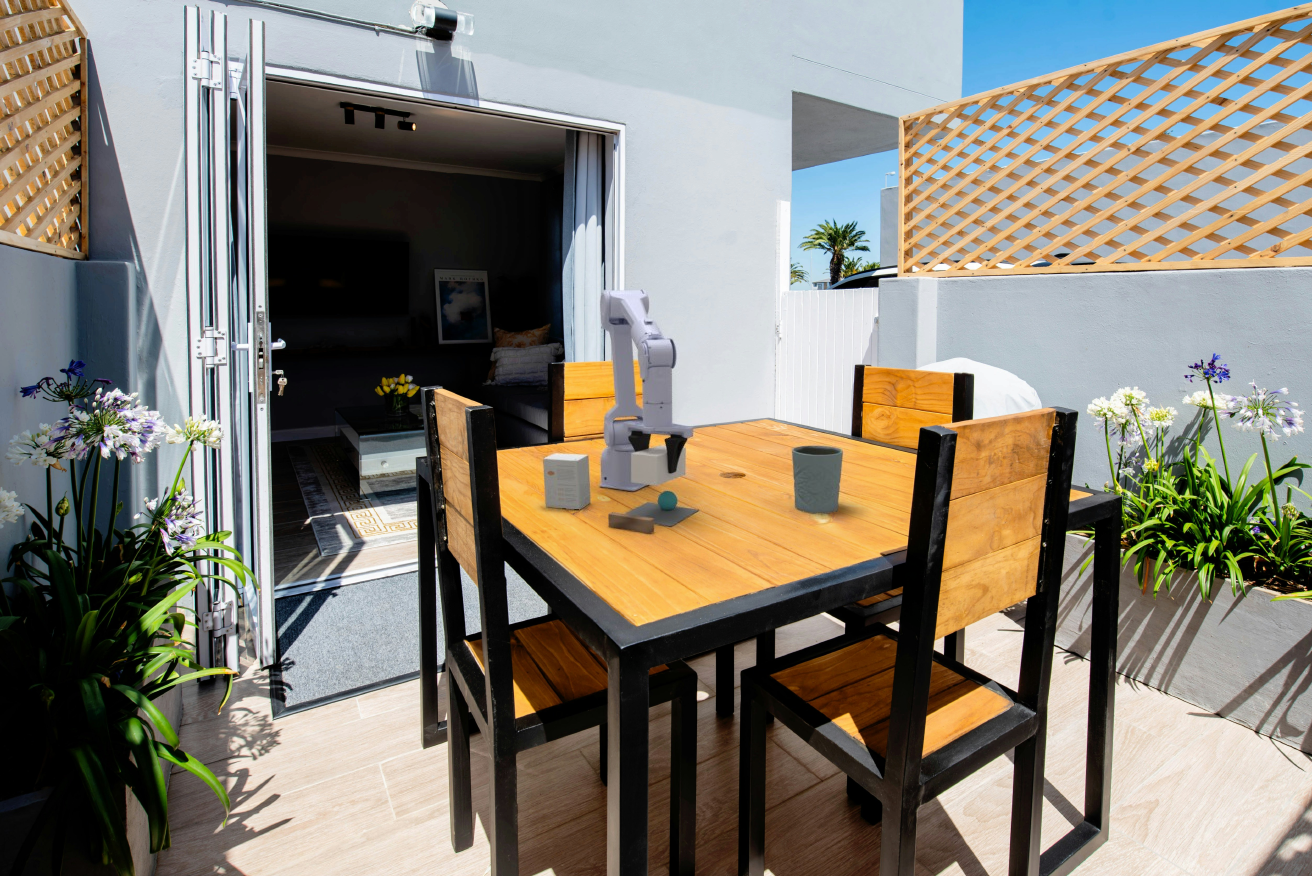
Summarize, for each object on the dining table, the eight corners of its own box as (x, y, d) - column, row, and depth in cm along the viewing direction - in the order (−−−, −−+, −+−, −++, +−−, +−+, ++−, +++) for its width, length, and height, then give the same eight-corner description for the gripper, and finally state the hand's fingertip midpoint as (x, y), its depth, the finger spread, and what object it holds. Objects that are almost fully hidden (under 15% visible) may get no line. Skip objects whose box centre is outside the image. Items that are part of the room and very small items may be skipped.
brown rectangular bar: (608, 526, 134) (608, 513, 133) (613, 524, 135) (612, 511, 134) (650, 533, 129) (649, 520, 129) (654, 531, 131) (653, 518, 130)
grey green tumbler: (812, 517, 138) (814, 457, 136) (780, 504, 147) (781, 447, 145) (851, 509, 143) (854, 451, 140) (818, 497, 151) (820, 442, 149)
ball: (656, 488, 143) (664, 491, 147) (652, 507, 142) (661, 511, 146) (673, 489, 141) (682, 493, 145) (670, 509, 140) (678, 513, 144)
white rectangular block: (631, 482, 136) (631, 453, 135) (660, 471, 146) (661, 444, 146) (657, 485, 134) (657, 456, 133) (685, 474, 144) (685, 447, 143)
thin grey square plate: (616, 518, 139) (616, 517, 139) (647, 502, 149) (647, 502, 149) (670, 527, 133) (670, 525, 133) (699, 510, 143) (699, 509, 143)
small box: (591, 503, 150) (589, 454, 148) (579, 510, 144) (578, 460, 142) (557, 500, 152) (555, 452, 150) (544, 507, 147) (542, 457, 145)
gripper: (614, 402, 137) (616, 471, 140) (681, 407, 130) (681, 479, 132) (633, 398, 143) (634, 463, 146) (698, 402, 136) (698, 471, 139)
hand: (658, 470), depth 139 cm, fingers closed on white rectangular block, 6 cm apart
